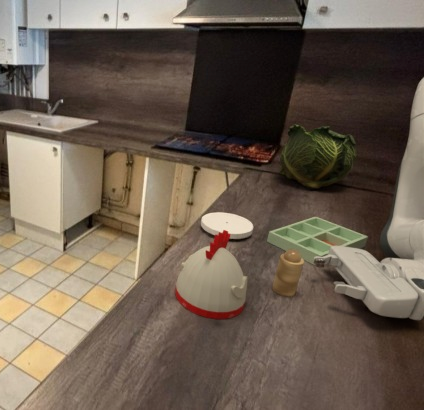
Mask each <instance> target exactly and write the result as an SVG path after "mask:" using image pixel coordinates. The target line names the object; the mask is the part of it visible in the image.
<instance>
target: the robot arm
mask: <svg viewBox="0 0 424 410" xmlns="http://www.w3.org/2000/svg"><path fill="white" fill-rule="evenodd" d="M410 111H411V112H410V118H409V119H410V121H409V122H410V123H409V132H408V139H407V144H406V147H405V150H404V153H403V157H402V159H401V162H400V163H399V164H400V165H399V167H398V170H397V174H396V180H395V185H394V190H393V195H392V202H391V207H390V212H389V217H388V219H387V222H386V224H385V225H384V227H383V229H382V231H381V232H380V236H379V245H380V249H381V251H382V252H383V253H384V255H385V256H386V257H385V258H383V259H382V260H381V261H379V260H378V259H377V258H376V256H374V255H372V253H370V252H369V251H367V250H365V249H363V248H360V249H358V248H352V247H345V246H332V247H330V249H329V252H328V255H326V256H323V257H318V256H316V257H314V259H313V263H314V264H315V265H314V266H315V267H317V268H324V267H325V266H327V265H328V266H330V267H333V268H334V269H335V270H336V271H337V273H338V274H339V275H340V276H341V277H342V278H343V280H344V281H345V282H346V283H347V284H346V283H345V282H344V281H338V280H337V281H333V283H332V286H331V288H332V290H333V291H334V292H335V293H336V294H342V295H346V296H349V297H352V298H354V299H356V300H361V302H363V304H364V305H365V306H366V307H367V308H368V310H369V311H370V312H372V313H373V314H376V315H378V316H381V317H388V318H395V319H408V318H409V319H410V320H413V321H421V320H423V318H424V77H422V78H421V80H419V82H418V84H417V87H416V90H415V93H414V96H413V101H412V105H411V110H410Z"/></svg>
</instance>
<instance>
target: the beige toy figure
mask: <svg viewBox="0 0 424 410" xmlns="http://www.w3.org/2000/svg"><path fill="white" fill-rule="evenodd" d="M304 264H305V260H303V259H302V258H301V254H300V253H299V252H298V251H297V250H293V249H291V250H287V251H285V252H284V253H282V254H280V255H279V260H278V263H277V267H276V270H275V275H274V278H273V283H272V290H273V292H274V293H276V294H278V295H280V296H282V297H294V296H295V295H296V291H297V288H298V284H299V281H300V278H301V274H302V271H303V267H304Z"/></svg>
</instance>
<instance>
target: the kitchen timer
mask: <svg viewBox="0 0 424 410" xmlns="http://www.w3.org/2000/svg"><path fill="white" fill-rule="evenodd" d="M230 235H231V234H229V233H228V231H226V230H223V233H221V232H219V234H218V235H216V234H215V235H214V238H213V242H212V241H210V243H209V245H208V246H207V245H206V246H204V247H202V248H200V249H198V250H197V251H195V252H193V253H192V254H190V255H189V256H188V258H187V259H186V260H185V261H182V262H181V265H180V269H179V271H180V272H179V274H178V276H177V280H176V284H175V291H174V294H175V297H176V299H177V301H178V302H179V303H180V305H181V306H183V307H184V308H185V309H187V310H188V311H190V312H192V313H193V314H195V315H197V316H202V317H203V318H206V319H207V318H208V319H213V320H228V319H231V318H235V317H236V316H238V315H240V314H241V313H242V312H243V310H244V308H245V306H246V305H245V304H246V301H247V300H246V299H247V296H246V295H247V291H248V276H246V275H244V272H243V270H242V268H241V265H240V263H239V261H238V260H237V259H236V257H235V256H234V254H232V252H230V251H229V250H228V249H227V246H228V244H229V241H230Z"/></svg>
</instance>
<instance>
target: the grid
mask: <svg viewBox="0 0 424 410" xmlns="http://www.w3.org/2000/svg"><path fill="white" fill-rule="evenodd" d="M368 238H369V236H368V235H365V234H362V233H360V232H357V231H355V230H352V229H350V228H347V227H344V226H341V225H339V224H336V223H334V222H331V221H329V220H325V219H324V218H320V217H318V216H313V217H310V218H307V219H304V220H300V221H297V222H294V223H291V224H288V225H286V226H282V227H280V228H279V227H278V228H276V229H273V230H269V231H268V236H267V238H266V242H267V243H269V244H271V245H273V246H275V247H277V248H279V249H280V250H283V251H285V252H286V251H287V250H291V249H293V250H297V251H298V252H299V253H300V254H301V258H302V259H303V260H304V262H307V263H310V264H311V265H313V266H315V264H314V263H313V259H314V257H316V256H318V257H323V256H326V255H328V252H329V249H330V247H332V246H345V247H352V248H358V249H363V248H365V247H366V244H367V241H368Z"/></svg>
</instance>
